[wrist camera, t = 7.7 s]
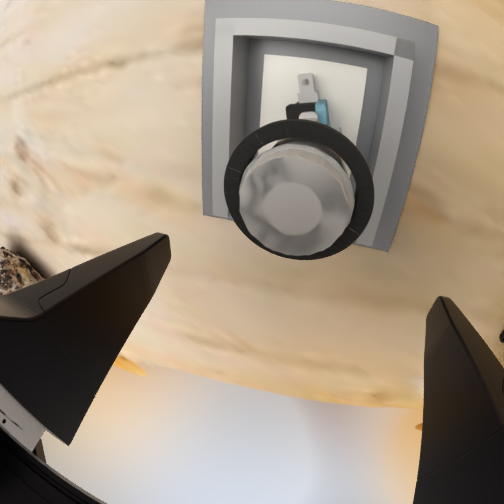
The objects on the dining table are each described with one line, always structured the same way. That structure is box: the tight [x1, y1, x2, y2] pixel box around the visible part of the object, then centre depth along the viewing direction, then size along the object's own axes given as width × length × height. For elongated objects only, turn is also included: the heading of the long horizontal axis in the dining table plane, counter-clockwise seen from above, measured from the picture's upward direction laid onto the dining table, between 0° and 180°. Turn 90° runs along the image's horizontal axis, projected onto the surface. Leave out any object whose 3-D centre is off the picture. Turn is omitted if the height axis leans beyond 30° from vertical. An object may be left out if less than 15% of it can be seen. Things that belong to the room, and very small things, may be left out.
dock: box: [202, 0, 439, 252], centre depth 16 cm, size 14×16×4 cm
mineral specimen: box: [0, 247, 45, 295], centre depth 35 cm, size 16×18×10 cm
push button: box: [224, 73, 375, 260], centre depth 13 cm, size 7×5×10 cm
